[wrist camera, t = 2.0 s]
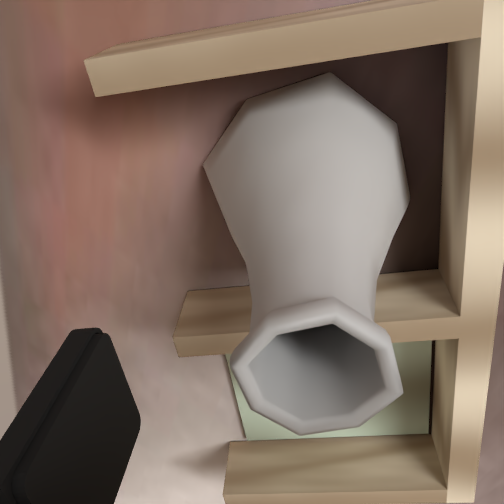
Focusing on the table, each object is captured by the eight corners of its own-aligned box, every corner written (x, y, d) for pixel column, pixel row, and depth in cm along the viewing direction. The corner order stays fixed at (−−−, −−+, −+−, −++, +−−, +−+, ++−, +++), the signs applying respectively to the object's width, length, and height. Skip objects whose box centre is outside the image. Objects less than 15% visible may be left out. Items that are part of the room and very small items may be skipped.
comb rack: (118, 43, 16) (83, 60, 13) (493, -21, 14) (538, -17, 11) (233, 453, 26) (226, 506, 24) (455, 445, 24) (473, 502, 22)
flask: (283, 289, 20) (273, 525, 12) (169, 156, 18) (51, 338, 9) (443, 200, 18) (580, 423, 9) (338, 27, 15) (395, 115, 6)
